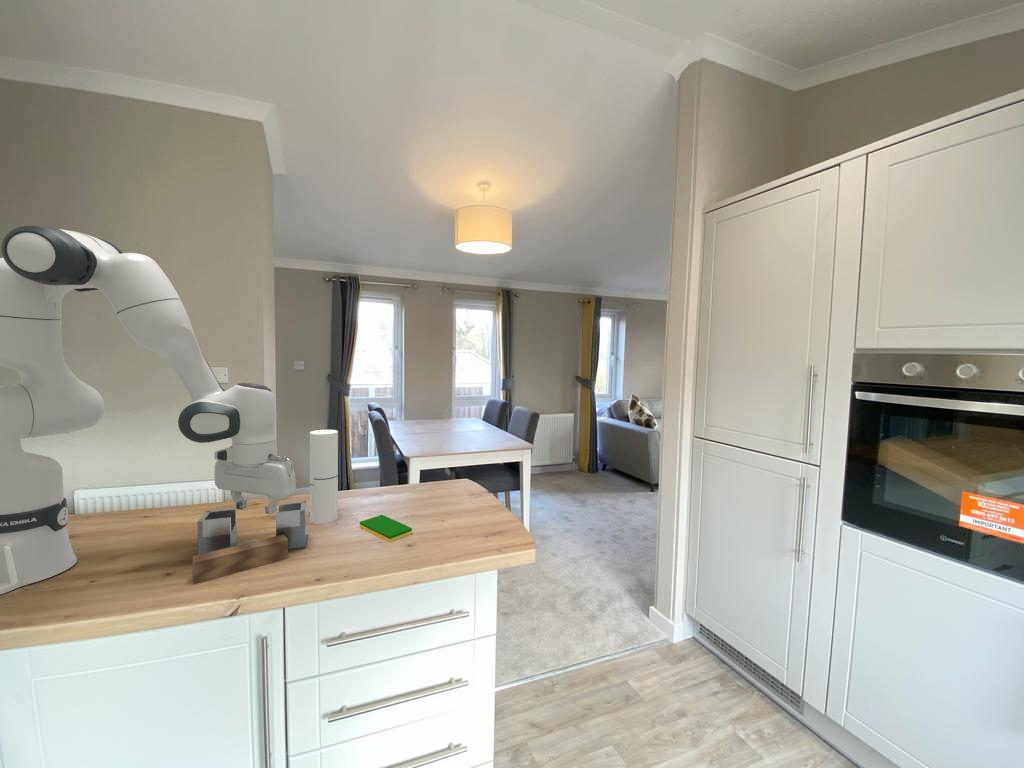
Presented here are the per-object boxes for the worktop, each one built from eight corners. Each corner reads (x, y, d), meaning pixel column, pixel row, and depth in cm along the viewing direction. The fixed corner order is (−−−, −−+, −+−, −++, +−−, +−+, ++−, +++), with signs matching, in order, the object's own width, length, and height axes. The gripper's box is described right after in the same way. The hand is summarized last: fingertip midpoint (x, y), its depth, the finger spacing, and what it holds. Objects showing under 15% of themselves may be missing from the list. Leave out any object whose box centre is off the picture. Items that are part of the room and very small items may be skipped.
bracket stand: (195, 565, 92) (194, 522, 92) (204, 551, 99) (203, 511, 98) (307, 549, 101) (307, 510, 100) (308, 537, 107) (308, 500, 107)
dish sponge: (389, 546, 105) (389, 536, 105) (359, 530, 114) (359, 521, 113) (412, 537, 110) (412, 528, 110) (382, 522, 119) (382, 514, 119)
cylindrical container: (327, 526, 115) (327, 435, 113) (304, 523, 116) (304, 433, 114) (343, 516, 122) (343, 430, 120) (321, 513, 123) (320, 429, 121)
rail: (194, 586, 84) (194, 562, 84) (192, 579, 87) (192, 556, 86) (288, 560, 96) (287, 539, 95) (284, 555, 98) (283, 534, 98)
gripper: (302, 453, 99) (302, 511, 99) (232, 446, 104) (233, 501, 105) (281, 460, 92) (281, 521, 93) (208, 451, 98) (209, 510, 99)
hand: (255, 510), depth 99 cm, fingers open, 7 cm apart
